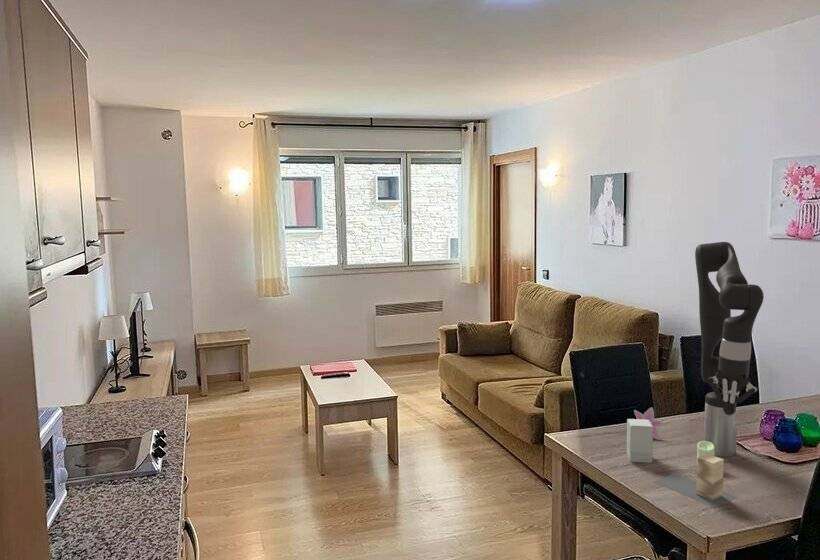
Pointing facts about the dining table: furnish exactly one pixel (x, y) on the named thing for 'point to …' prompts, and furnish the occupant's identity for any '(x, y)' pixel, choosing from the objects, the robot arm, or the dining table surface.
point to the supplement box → (639, 440)
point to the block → (710, 477)
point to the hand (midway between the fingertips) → (728, 414)
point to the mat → (690, 489)
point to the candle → (705, 448)
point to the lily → (650, 416)
